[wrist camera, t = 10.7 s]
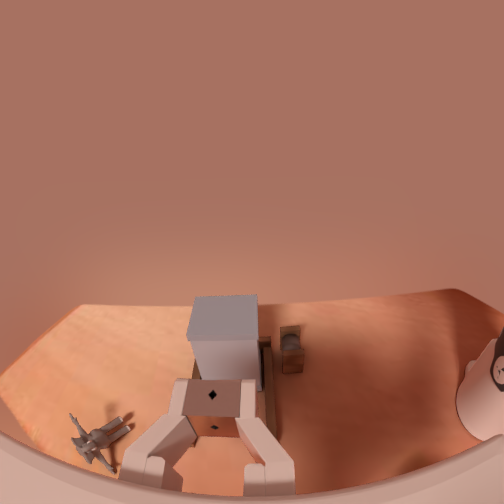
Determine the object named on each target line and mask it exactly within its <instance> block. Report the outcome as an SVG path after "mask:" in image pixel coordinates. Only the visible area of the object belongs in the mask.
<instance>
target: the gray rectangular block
mask: <svg viewBox="0 0 504 504" xmlns="http://www.w3.org/2000/svg"><path fill="white" fill-rule="evenodd" d="M186 336H187V339H188V341H190V342H191V345H192V349H193V352H194V355H195V359H196V362H197V365H198V369H199V372H200V375H201V378H202V380H233V379H242V380H248V379H256V385H257V391H262V383H261V352H260V350H259V341H258V340H259V337H258V303H257V295H235V296H208V297H195V301H194V305H193V309H192V313H191V317H190V322H189V326H188V330H187V335H186Z"/></svg>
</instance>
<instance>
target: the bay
mask: <svg viewBox="0 0 504 504" xmlns="http://www.w3.org/2000/svg"><path fill="white" fill-rule="evenodd" d="M299 340H300V326H289V327H280V348H281V350H283V374H286V373H299V372H303V364H304V349H301V347H300V341H299ZM258 341H259V350H260V352H261V354H264V373H265V398H266V423H267V428H268V429H269V431H270V432H271V433H272V435H273V436H274V437H275V439H276V440H277V431H276V415H275V399H274V383H273V368H272V353H271V336H270V337H259V340H258ZM192 379H200V380H202V378H201V375H200V372H199V369H198V365H197V362H196V359H195V362H194V368H193V374H192ZM190 447H195V441H194V442H193V443H192V444H191V446H190Z"/></svg>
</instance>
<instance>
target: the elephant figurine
mask: <svg viewBox="0 0 504 504" xmlns="http://www.w3.org/2000/svg"><path fill="white" fill-rule="evenodd" d="M69 415H70V417H71V420H72V422H73V423H74V424H75V425H76V426H77V429H78V431H79V434H80V436H81V438H72V437H71V439H72V442H73V444H74V445H75V446H76V450H77V451H78V453H79V454H80V455H81V456H83V457H84V458H85V460H86V461H87V462H88V463H89V464H92V460H93V459H94V457H96V458H97V459H98V460H99V461H100V462H102V463H103V464H104V465H105V466H106V468H107V469H108V470H109V471H110V472H111V473H112V474H115V473H114V472H113V470H112V469H114V468H112V467H111V466H110V465H109V464H108V463H107V462H106V460H105V458H104V457H103V455H102V454H101V452H100V449H106V448H108V447H109V445H110V443H111V442H113V441H115V440H116V439H118V438H119V437H120V436H122V435H124V434H126V433H128V432H129V431H130V430H131V429H130V427H129V426H127V425H125V426H124V427H123V428H121V429H119V430H118V431H116V432H115V433H113V434H111V435H109V436H107V435H106V433H107V432H109V431H110V430H111V429H113V428H114V427H116V426H117V425H119V424H121V423H122V422H123V419H122V418H121V417H117V418H116V419H114V420H113V421H112V422H110V423H108V424H107V425H105V426H103V427H101V428H100V429H94V430H92V431H91V432H90V433H89V434H87V433H86V432H85V431H84V430H83V428H82V427H81V426H80V425H79V423H78V421H77V418H76V417H75V418H74V417H73V416H72V415H71V413H69Z"/></svg>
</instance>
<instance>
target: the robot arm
mask: <svg viewBox="0 0 504 504" xmlns="http://www.w3.org/2000/svg"><path fill="white" fill-rule="evenodd" d="M456 405H457V411H458V414H459V417H460V420H461V422H462V423H463V425H464V426H465V428H466V429H467V430H468V431H469V432H470V433H471V434H472V435H473V436H475V437H476V438H478V439H480V440H483V442H481V443H479V444H477V445H475V446H473V447H471V448H469V449H467V450H465V451H463V452H461V453H458V454H456V455H454V456H451V457H449V458H447V459H444V460H442V461H439V462H437V463H434V464H431V465H429V466H426V467H423V468H420V469H417V470H414V471H411V472H408V473H405V474H402V475H398V476H395V477H391V478H388V479H384V480H380V481H376V482H372V483H368V484H363V485H359V486H354V487H348V488H343V489H337V490H331V491H324V492H316V493H308V494H297V495H296V490H295V473H294V461H293V460H292V459H291V457H290V456H289V455H288V454H287V452H286V451H285V450H284V449H283V447H282V446H281V445H280V444H279V442H278V441H277V440H276V439H275V437H274V436H273V435H272V433H271V432H270V431H269V429H268V428H267V427H266V426H265V424H264V423H263V422H262V420H261V419H260V418H259V417H258V397H257V385H256V379H248V380H242V379H233V380H200V379H181V378H177V379H176V381H175V383H174V387H173V392H172V396H171V400H170V405H169V410H168V414H163V415H162V416H161V417H160V418H159V419H158V420H157V421H156V422H155V423H154V424H153V425H152V426H151V427H150V428H148V429H147V430H146V431H145V432H144V433H143V434H142V435H141V436H140V437H139V438H138V439H137V440H136V441H135V442H133V443H132V444H131V445H130V446H129V447H128V448H127V449H126V450H125V453H124V457H123V461H122V465H121V469H120V473H119V478H118V479H116V478H112V477H108V476H105V475H102V474H98V473H95V472H92V471H89V470H86V469H83V468H80V467H77V466H75V465H72V464H69V463H67V462H64V461H62V460H59V459H57V458H54V457H52V456H50V455H47V454H45V453H43V452H41V451H38V450H36V449H34V448H32V447H30V446H28V445H26V444H24V443H22V442H20V441H18V440H16V439H14V438H13V437H11V436H9V435H7V434H5V433H3V432H2V431H0V504H504V327H503V329H502V331H501V332H500V335H499V337H498V338H496V339H492V340H491V341H490V342H489V344H488V345H487V346H486V348H485V349H484V351H483V352H482V353H481V355H480V356H479V358H478V359H477V360H472V361H470V362H469V363H468V364H467V366H466V370H465V378H464V380H463V381H462V383H461V385H460V387H459V389H458V392H457V398H456ZM197 436H208V437H234V438H240V439H241V440H242V442H243V443H244V445H245V446H246V448H247V450H248V451H249V453H250V454H251V456H252V457H253V459H254V460H255V462H256V463H257V464H248V465H246V466H245V471H244V492H243V496H220V495H206V494H196V493H187V492H182V485H183V478H182V476H181V475H180V474H179V473H177V472H176V471H175V470H174V469H173V468H172V467H173V466H174V465H175V464H176V463H177V462H178V460H179V459H180V458H181V457H182V456H183V454H184V453H185V452H186V451H187V449H188V448H189V447H190V446H191V444H192V443H193V442H194V441H195V440H196V438H197Z"/></svg>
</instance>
